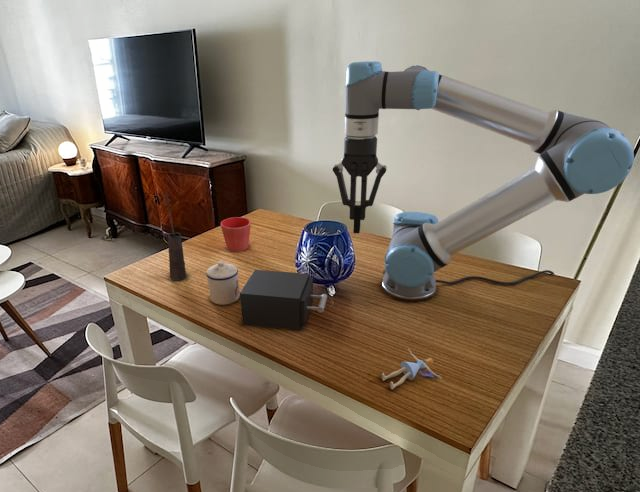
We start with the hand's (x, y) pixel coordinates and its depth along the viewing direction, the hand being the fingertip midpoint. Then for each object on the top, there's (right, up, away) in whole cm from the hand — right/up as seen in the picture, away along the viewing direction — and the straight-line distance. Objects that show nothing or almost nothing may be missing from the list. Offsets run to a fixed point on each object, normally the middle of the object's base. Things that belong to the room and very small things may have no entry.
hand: (356, 231), depth 116 cm
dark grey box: (-20, -22, +9) cm, 31 cm away
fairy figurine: (+9, -34, -16) cm, 39 cm away
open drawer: (-17, -21, +7) cm, 28 cm away
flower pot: (-35, 0, +49) cm, 60 cm away
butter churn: (-52, -12, +30) cm, 61 cm away
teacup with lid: (-36, -17, +19) cm, 44 cm away
